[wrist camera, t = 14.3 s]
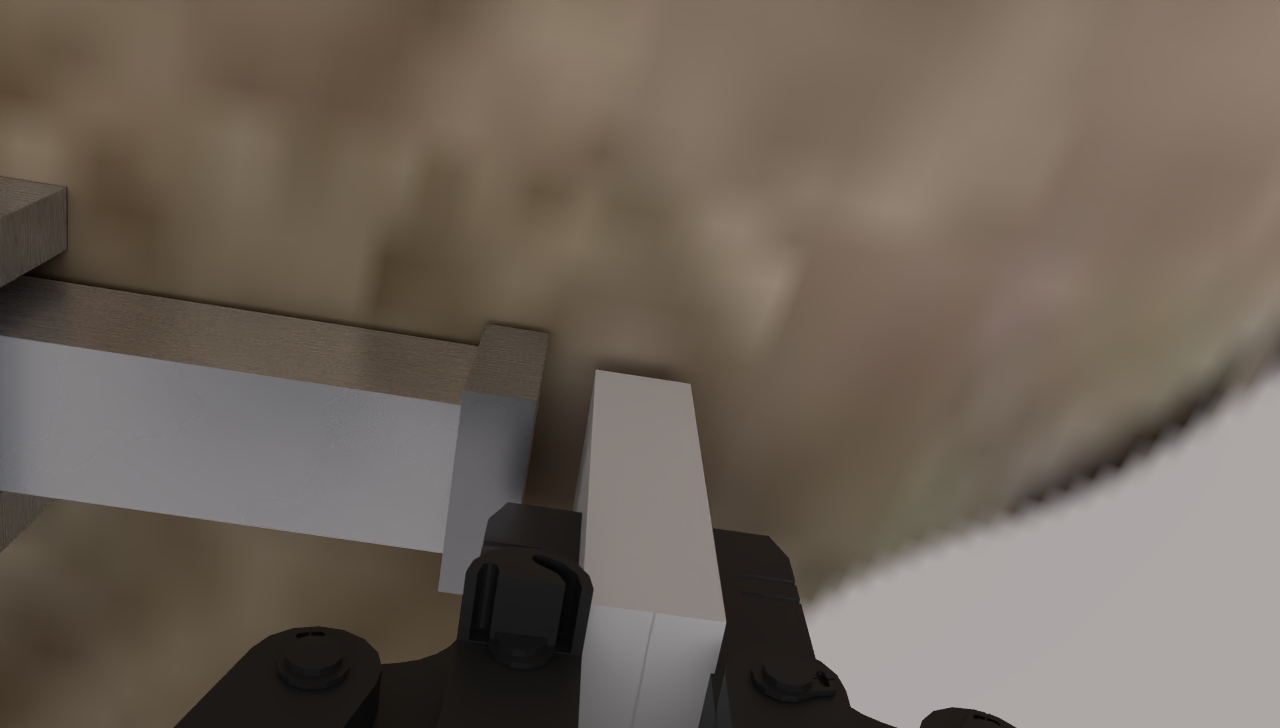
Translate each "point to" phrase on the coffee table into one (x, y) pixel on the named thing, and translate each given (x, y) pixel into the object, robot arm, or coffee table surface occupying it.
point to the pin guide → (4, 250)
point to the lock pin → (265, 418)
